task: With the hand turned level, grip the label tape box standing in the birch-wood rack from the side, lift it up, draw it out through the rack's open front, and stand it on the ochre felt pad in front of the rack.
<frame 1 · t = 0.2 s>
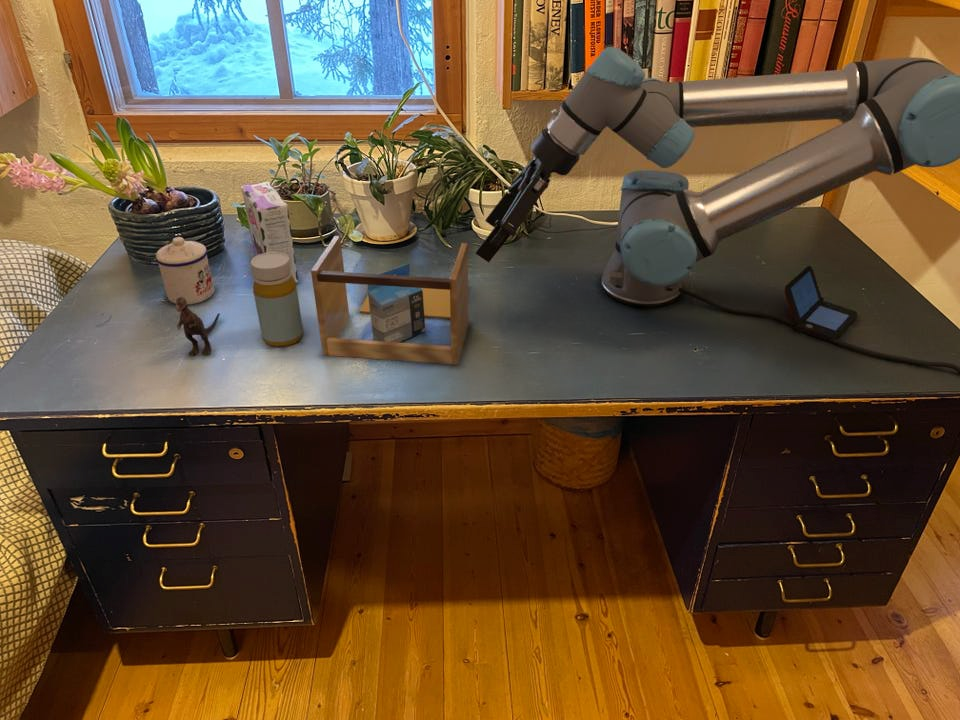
hand: (486, 240, 128), 15 cm above the table, tool tilted 35°, fingers open, 13 cm apart
label tape box: (399, 337, 130), on the table
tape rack: (399, 336, 130), on the table
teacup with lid: (194, 291, 143), on the table
dinosaur model: (205, 342, 128), on the table
felt pad: (413, 299, 140), on the table
handheld console: (815, 321, 135), on the table
bottle: (283, 338, 129), on the table
candy box: (276, 272, 150), on the table
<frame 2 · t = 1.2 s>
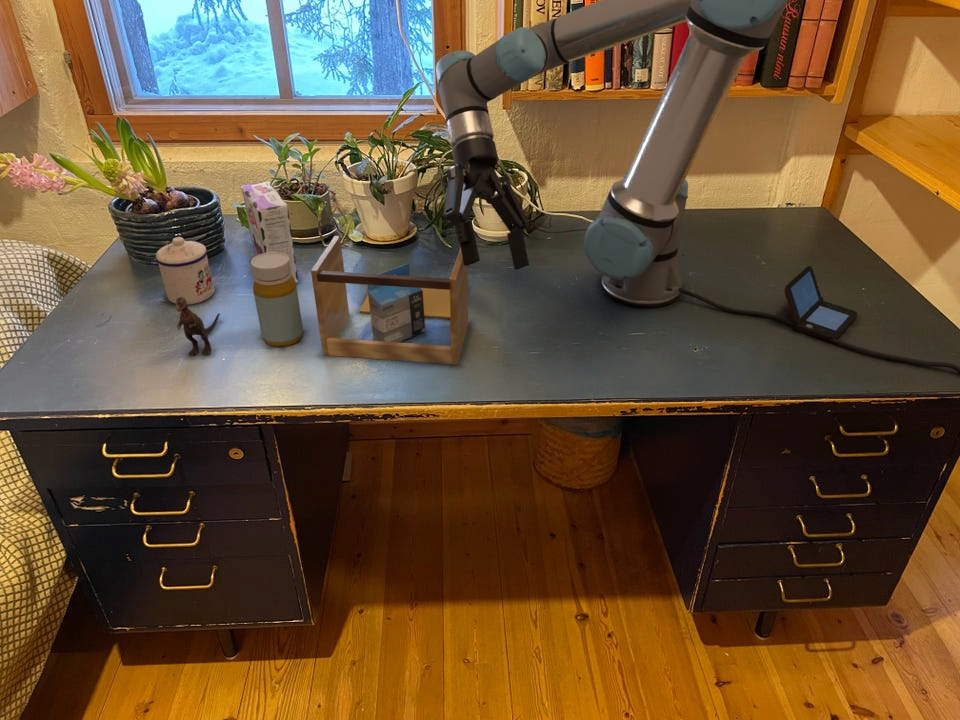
hand: (498, 265, 123), 13 cm above the table, tool tilted 40°, fingers open, 13 cm apart
nothing on the table moved.
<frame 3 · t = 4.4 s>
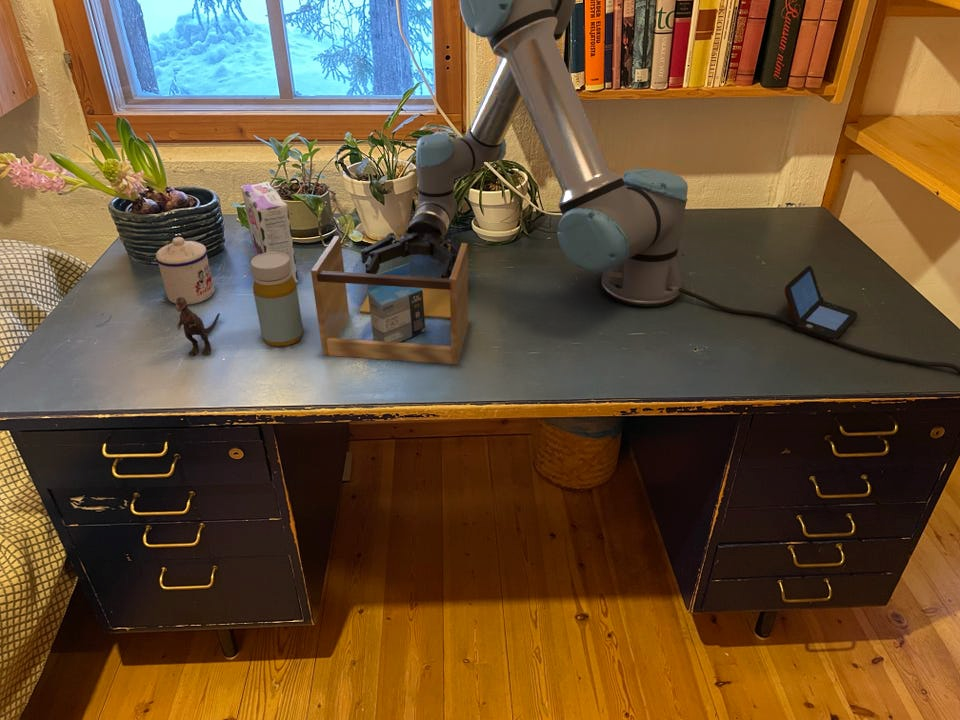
hand: (405, 279, 132), 7 cm above the table, tool horizontal, fingers open, 13 cm apart
nothing on the table moved.
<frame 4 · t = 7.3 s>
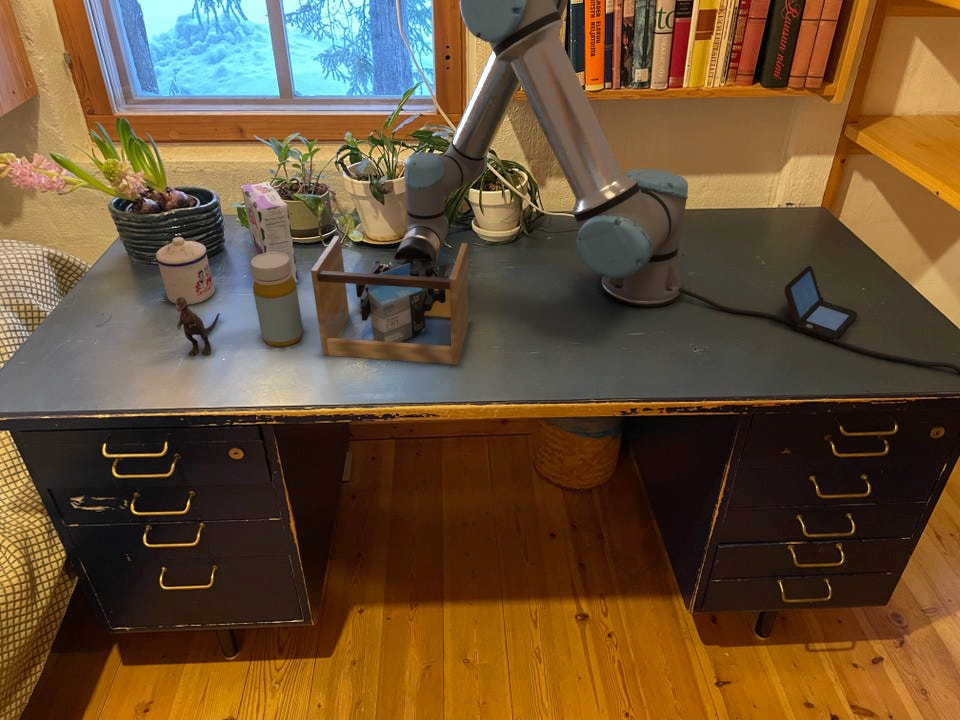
hand: (390, 315, 122), 7 cm above the table, tool horizontal, fingers closed on label tape box, 8 cm apart
label tape box: (399, 337, 130), on the table, touching gripper
everything else where it was.
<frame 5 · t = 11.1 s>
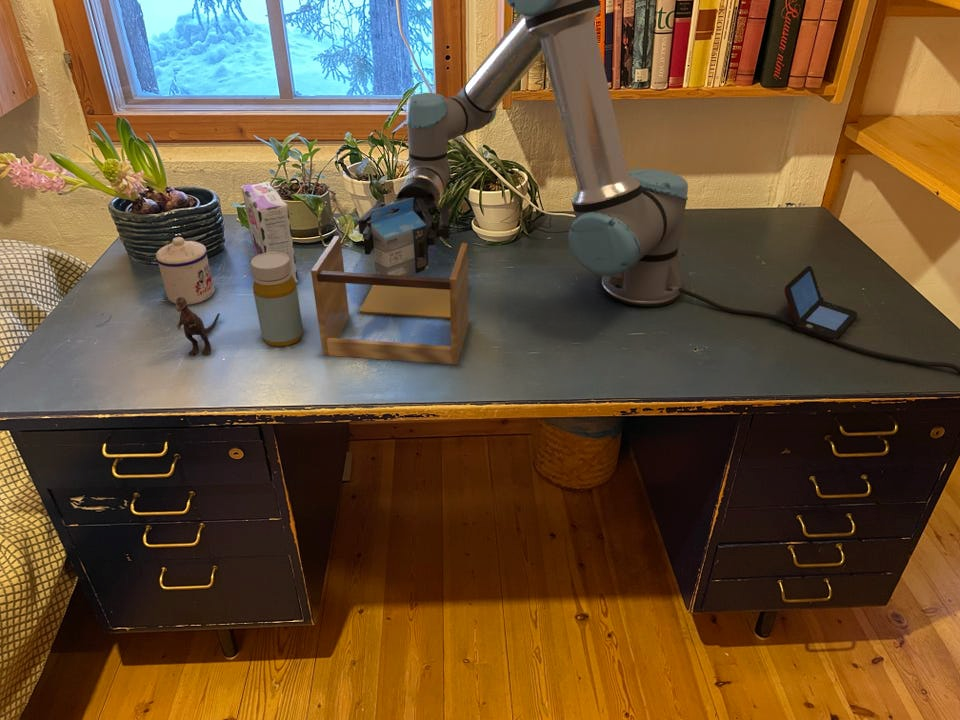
hand: (393, 248, 120), 17 cm above the table, tool horizontal, fingers closed on label tape box, 8 cm apart
label tape box: (402, 274, 128), point 10 cm above the table, touching gripper
everything else where it was.
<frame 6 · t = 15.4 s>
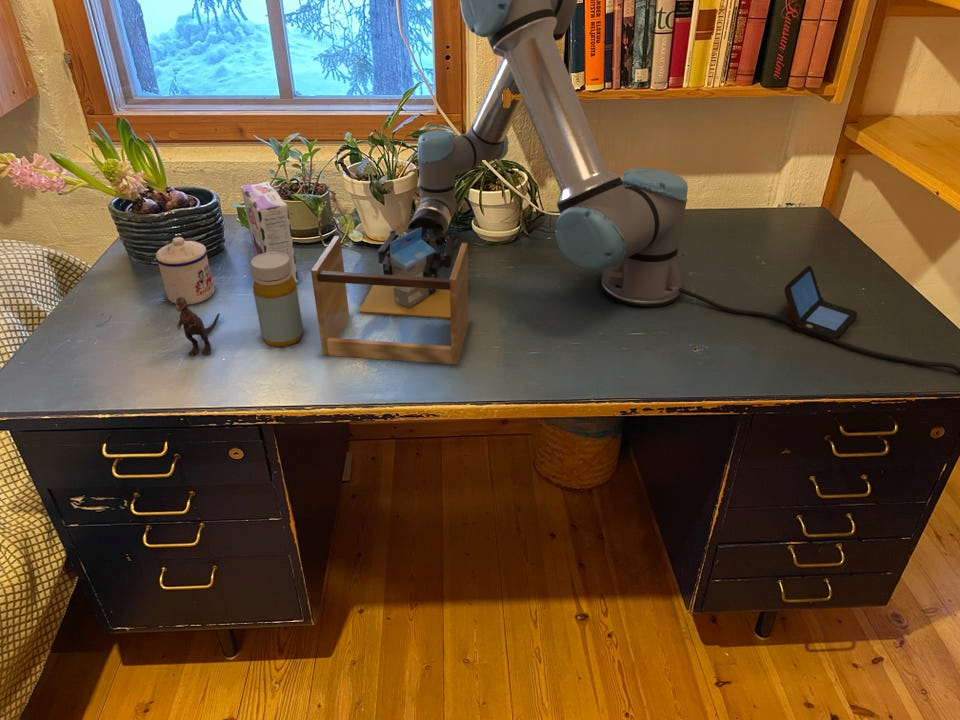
hand: (405, 277, 132), 7 cm above the table, tool horizontal, fingers closed on label tape box, 6 cm apart
label tape box: (416, 297, 141), resting on felt pad, touching gripper
everything else where it was.
when the fingers open (7 cm above the table, at t = 15.5 s): label tape box stays where it is, resting on felt pad.
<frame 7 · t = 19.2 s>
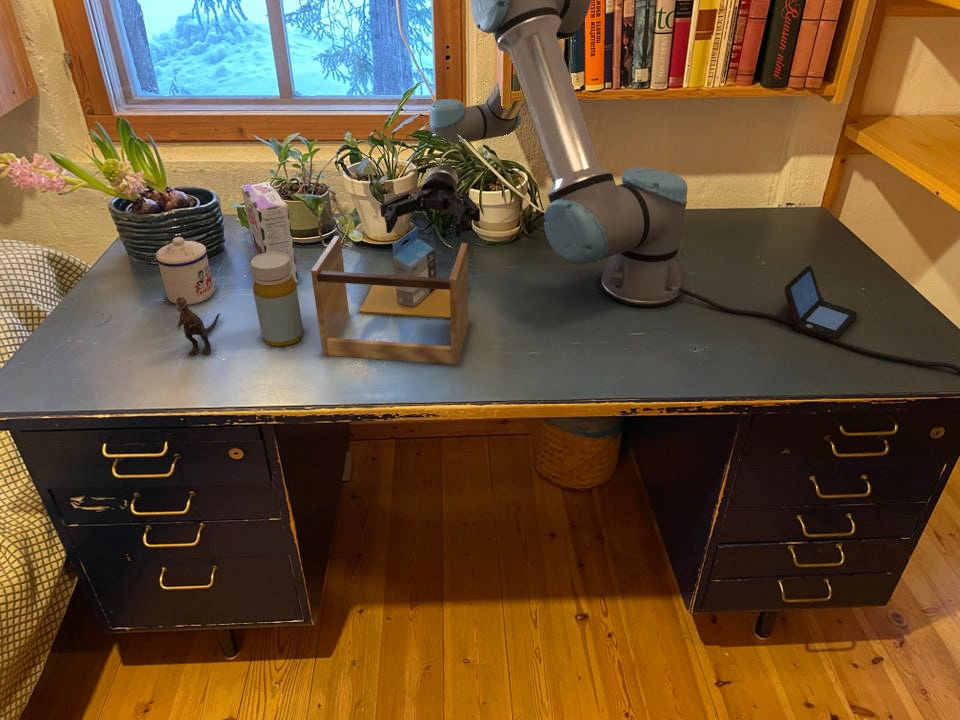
hand: (422, 228, 142), 11 cm above the table, tool horizontal, fingers open, 13 cm apart
label tape box: (417, 297, 141), resting on felt pad
everything else where it was.
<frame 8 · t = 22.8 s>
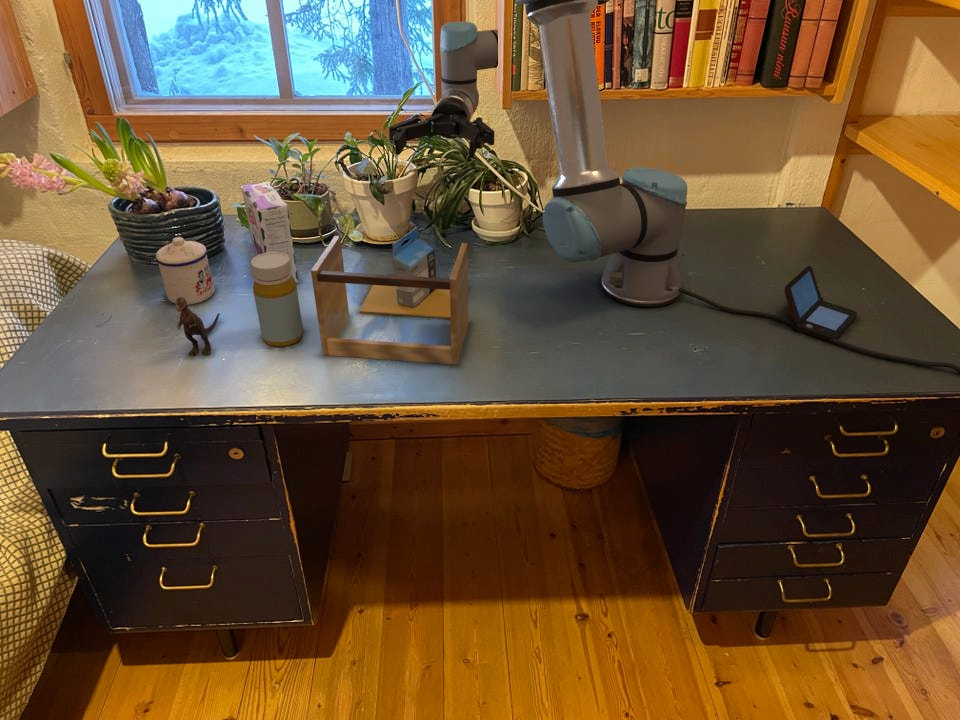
hand: (433, 149, 133), 26 cm above the table, tool horizontal, fingers open, 13 cm apart
nothing on the table moved.
at the end: label tape box inside the target area (0.9 cm from its centre), resting on felt pad; label tape box tilted 0°; the gripper is holding nothing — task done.
